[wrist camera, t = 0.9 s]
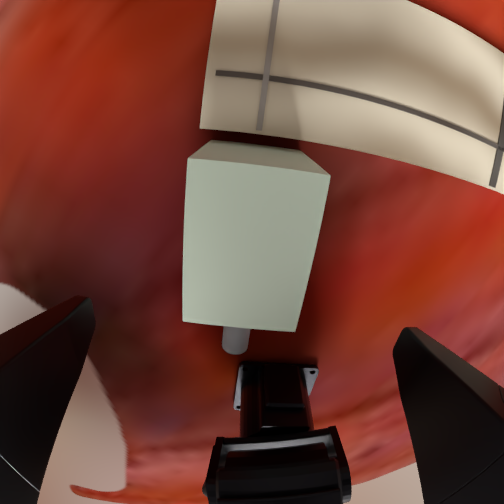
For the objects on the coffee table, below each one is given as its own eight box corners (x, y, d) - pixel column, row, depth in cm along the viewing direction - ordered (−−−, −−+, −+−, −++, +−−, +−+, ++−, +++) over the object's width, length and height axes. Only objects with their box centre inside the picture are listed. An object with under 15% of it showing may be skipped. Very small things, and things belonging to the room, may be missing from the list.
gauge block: (274, 298, 21) (282, 375, 15) (200, 291, 21) (183, 366, 14) (299, 150, 17) (330, 175, 10) (211, 139, 16) (187, 158, 10)
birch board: (532, 204, 18) (543, 211, 16) (203, 127, 16) (199, 128, 15) (549, 99, 13) (562, 101, 12) (226, -29, 12) (224, -40, 10)
